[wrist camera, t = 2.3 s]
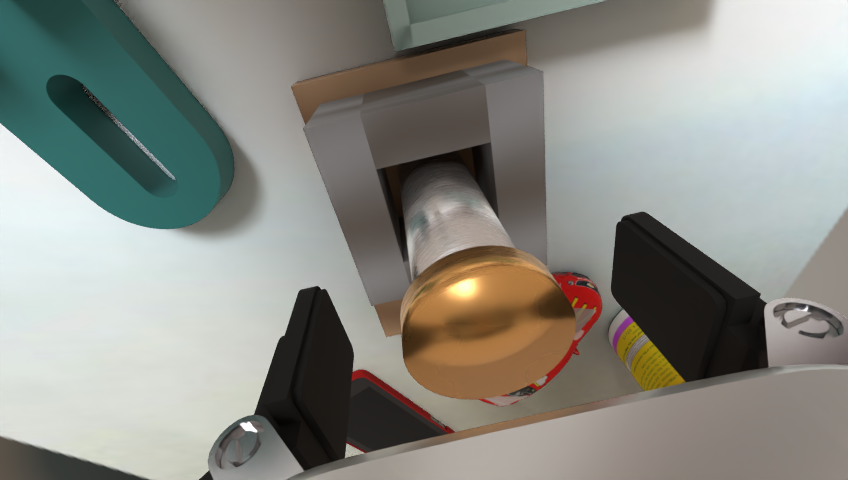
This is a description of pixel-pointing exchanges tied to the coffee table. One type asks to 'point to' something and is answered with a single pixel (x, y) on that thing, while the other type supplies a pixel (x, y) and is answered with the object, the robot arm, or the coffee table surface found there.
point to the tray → (461, 17)
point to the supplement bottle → (641, 355)
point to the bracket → (124, 97)
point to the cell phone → (385, 416)
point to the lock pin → (473, 290)
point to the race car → (587, 313)
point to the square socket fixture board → (428, 147)
